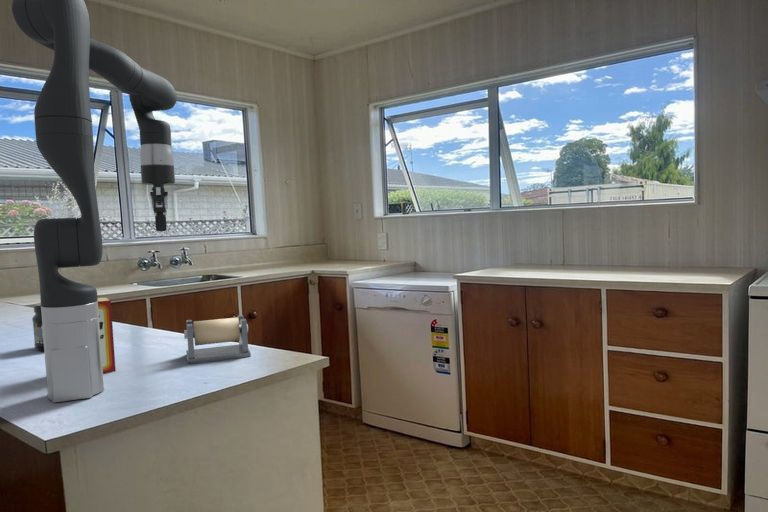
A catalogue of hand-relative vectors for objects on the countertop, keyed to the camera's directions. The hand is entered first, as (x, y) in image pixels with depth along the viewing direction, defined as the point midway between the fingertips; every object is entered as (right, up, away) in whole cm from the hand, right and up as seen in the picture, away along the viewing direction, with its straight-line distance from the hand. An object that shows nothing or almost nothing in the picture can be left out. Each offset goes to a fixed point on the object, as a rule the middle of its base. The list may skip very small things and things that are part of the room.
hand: (161, 231), depth 132 cm
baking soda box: (-10, -32, -14) cm, 36 cm away
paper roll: (+14, -26, -3) cm, 30 cm away
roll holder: (+15, -30, -3) cm, 34 cm away
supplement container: (-33, -31, +12) cm, 47 cm away
